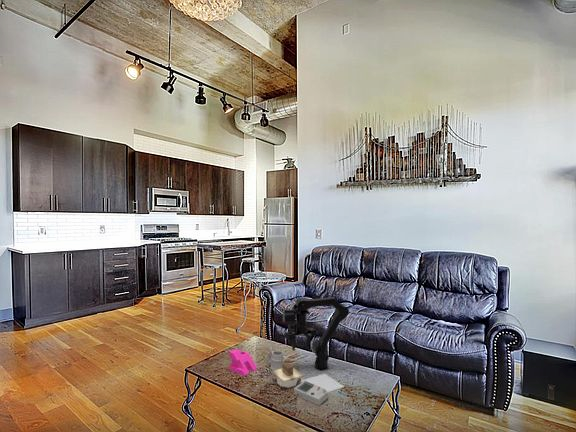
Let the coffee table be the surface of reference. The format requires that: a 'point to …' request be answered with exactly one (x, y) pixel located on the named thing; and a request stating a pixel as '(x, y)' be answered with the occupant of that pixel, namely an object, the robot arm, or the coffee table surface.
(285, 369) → the lid
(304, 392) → the handheld gaming device
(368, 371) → the coffee table surface
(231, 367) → the bracket
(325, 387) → the mat
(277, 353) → the mug
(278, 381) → the bowl
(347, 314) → the robot arm
